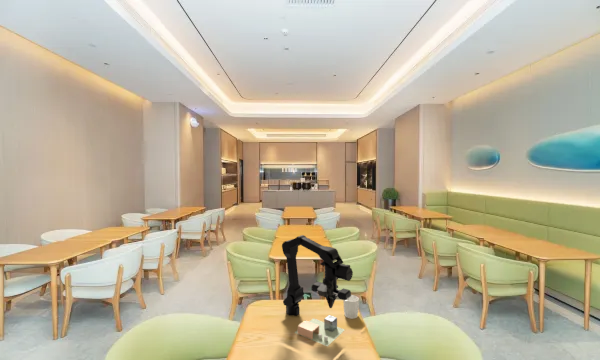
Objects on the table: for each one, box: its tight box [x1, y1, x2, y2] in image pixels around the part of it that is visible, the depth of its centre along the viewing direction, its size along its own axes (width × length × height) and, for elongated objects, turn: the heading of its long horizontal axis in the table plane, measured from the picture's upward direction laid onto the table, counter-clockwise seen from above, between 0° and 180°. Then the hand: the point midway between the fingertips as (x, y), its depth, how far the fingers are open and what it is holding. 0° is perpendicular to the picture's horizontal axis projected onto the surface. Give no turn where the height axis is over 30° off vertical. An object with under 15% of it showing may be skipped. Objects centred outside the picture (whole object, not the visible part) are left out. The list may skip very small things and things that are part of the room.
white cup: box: [342, 294, 360, 320], centre depth 154 cm, size 8×8×10 cm
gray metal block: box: [323, 314, 338, 332], centre depth 141 cm, size 4×4×5 cm
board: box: [294, 317, 346, 347], centre depth 139 cm, size 18×16×4 cm
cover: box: [297, 320, 319, 340], centre depth 137 cm, size 8×6×4 cm
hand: (330, 307), depth 141 cm, fingers closed
